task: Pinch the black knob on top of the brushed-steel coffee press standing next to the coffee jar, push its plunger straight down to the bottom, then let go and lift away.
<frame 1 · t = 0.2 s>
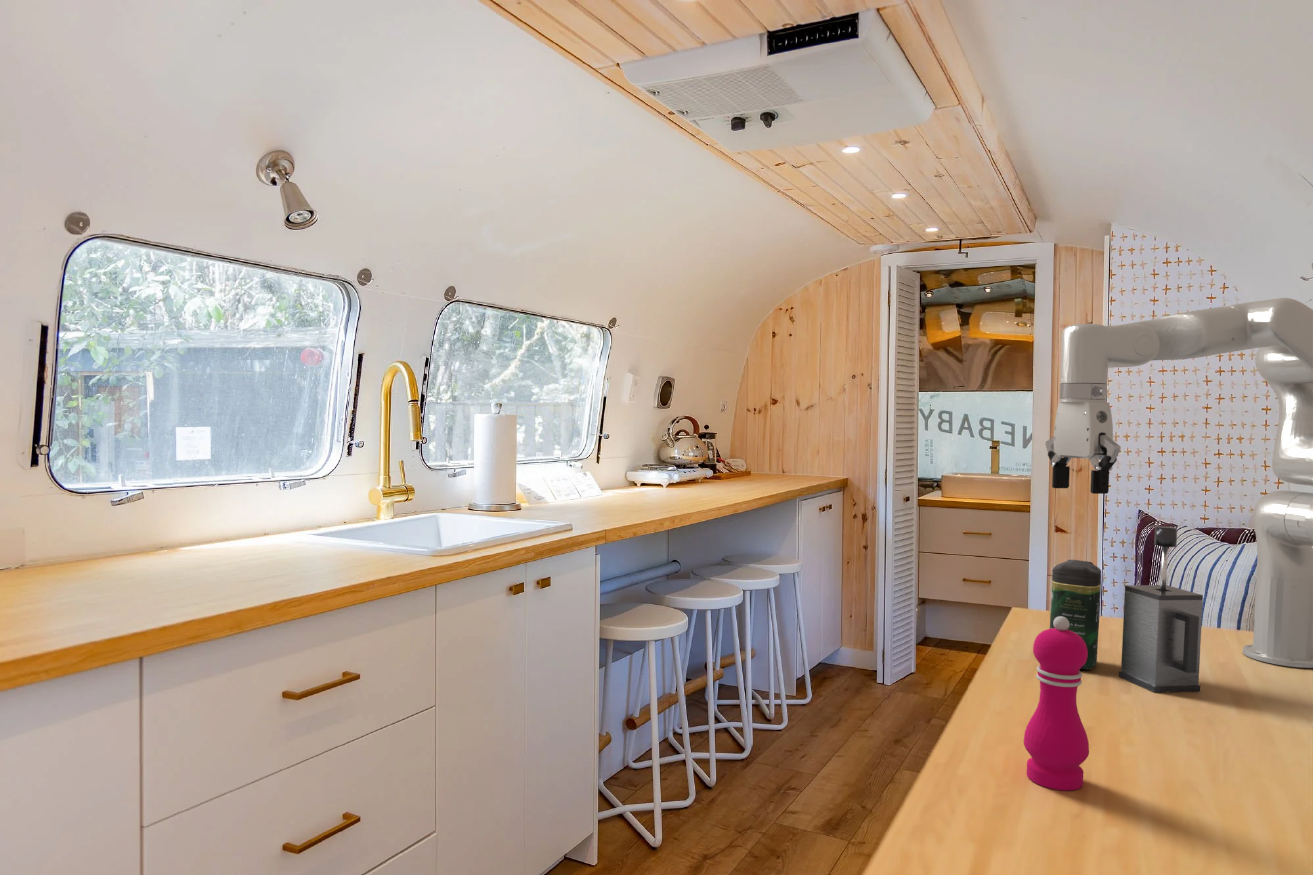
hand: (1079, 490, 156), 31 cm above the table, tool pointing down, fingers open, 9 cm apart
plunger: (1164, 568, 146), point 19 cm above the table, slide at 0.0 cm
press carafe: (1158, 683, 147), on the table
pepper mill: (1054, 781, 107), on the table
coffee jar: (1072, 665, 158), on the table
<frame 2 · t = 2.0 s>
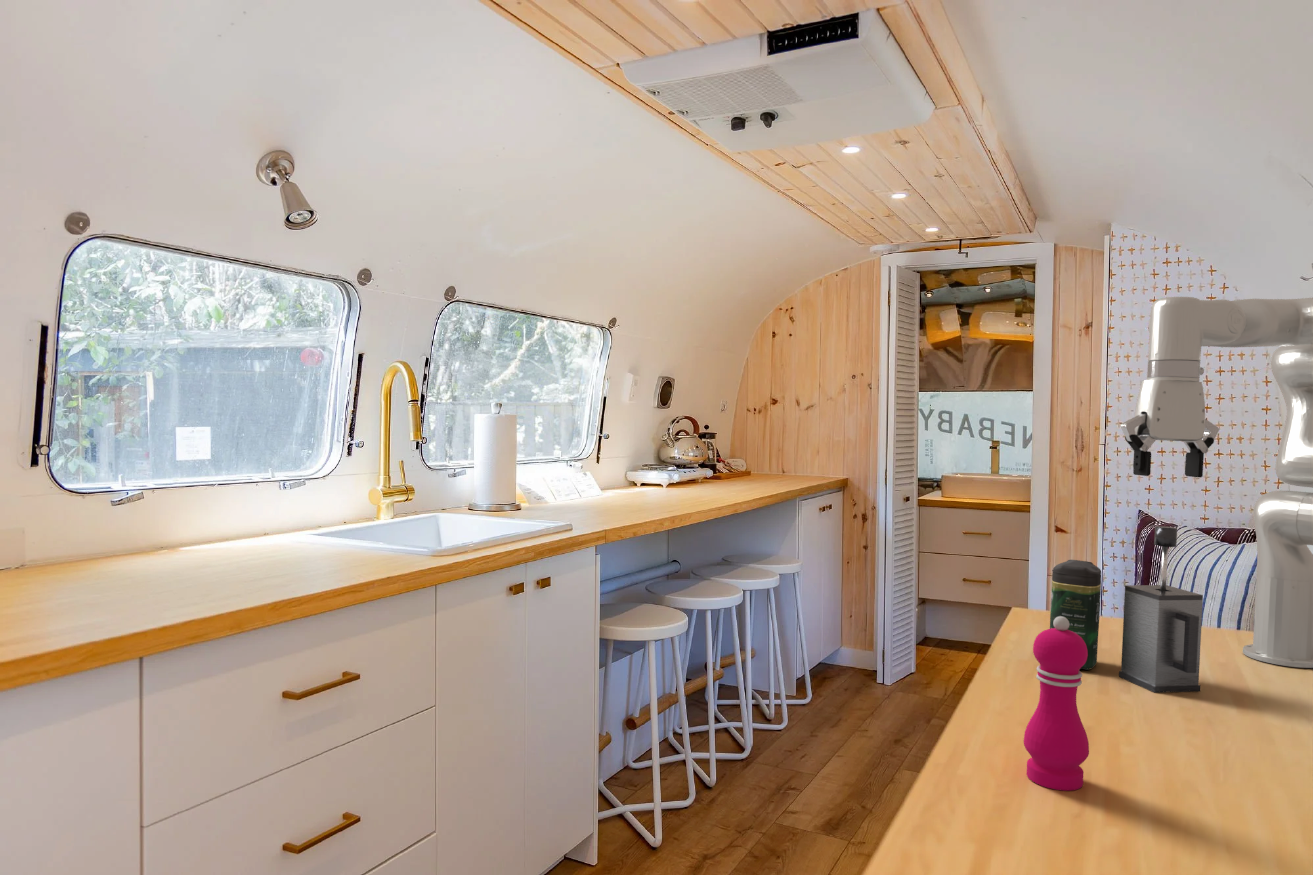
hand: (1167, 475, 146), 35 cm above the table, tool pointing down, fingers open, 9 cm apart
nothing on the table moved.
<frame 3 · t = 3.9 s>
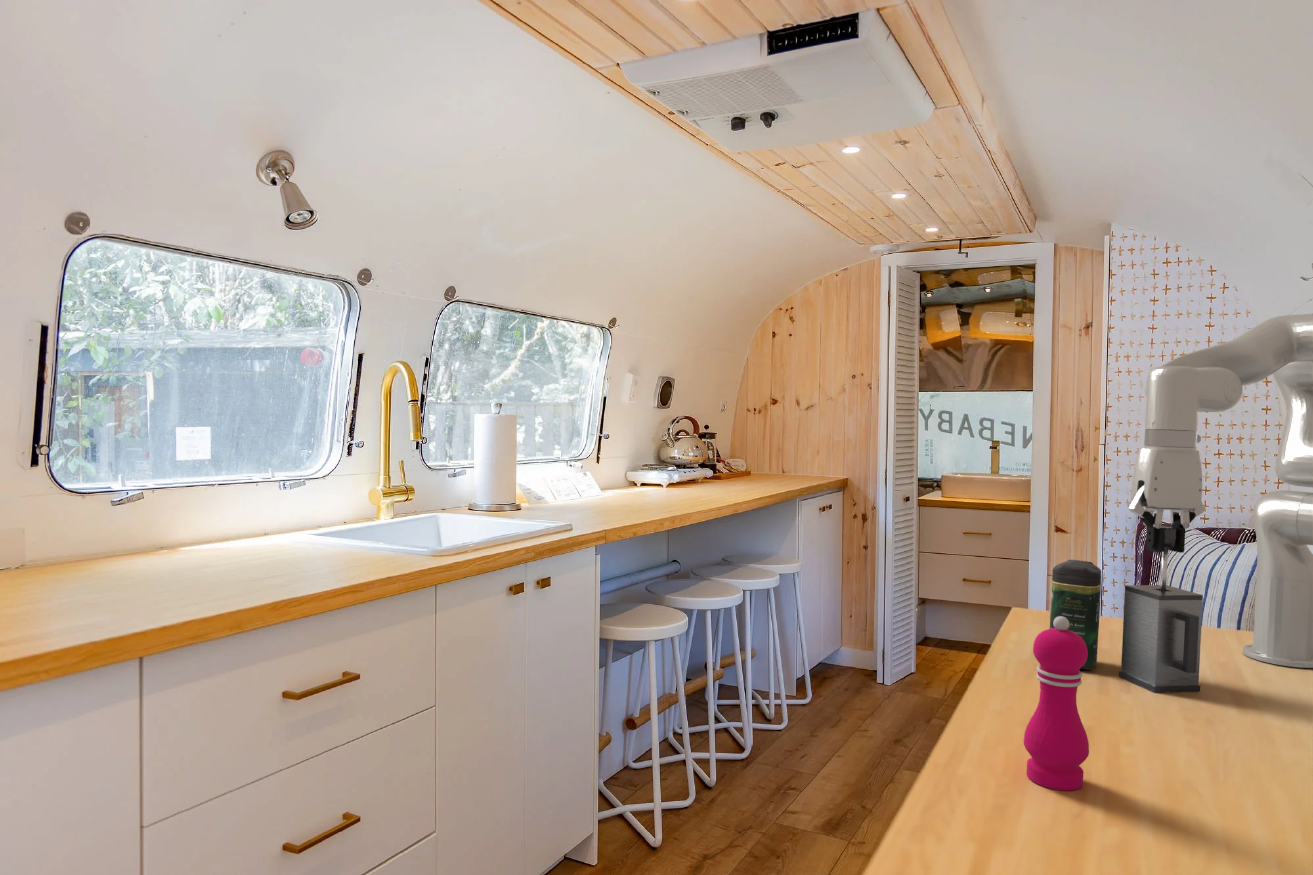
hand: (1165, 550, 146), 23 cm above the table, tool pointing down, fingers closed on plunger, 3 cm apart
plunger: (1164, 568, 146), point 19 cm above the table, slide at 0.0 cm, touching gripper
everything else where it was.
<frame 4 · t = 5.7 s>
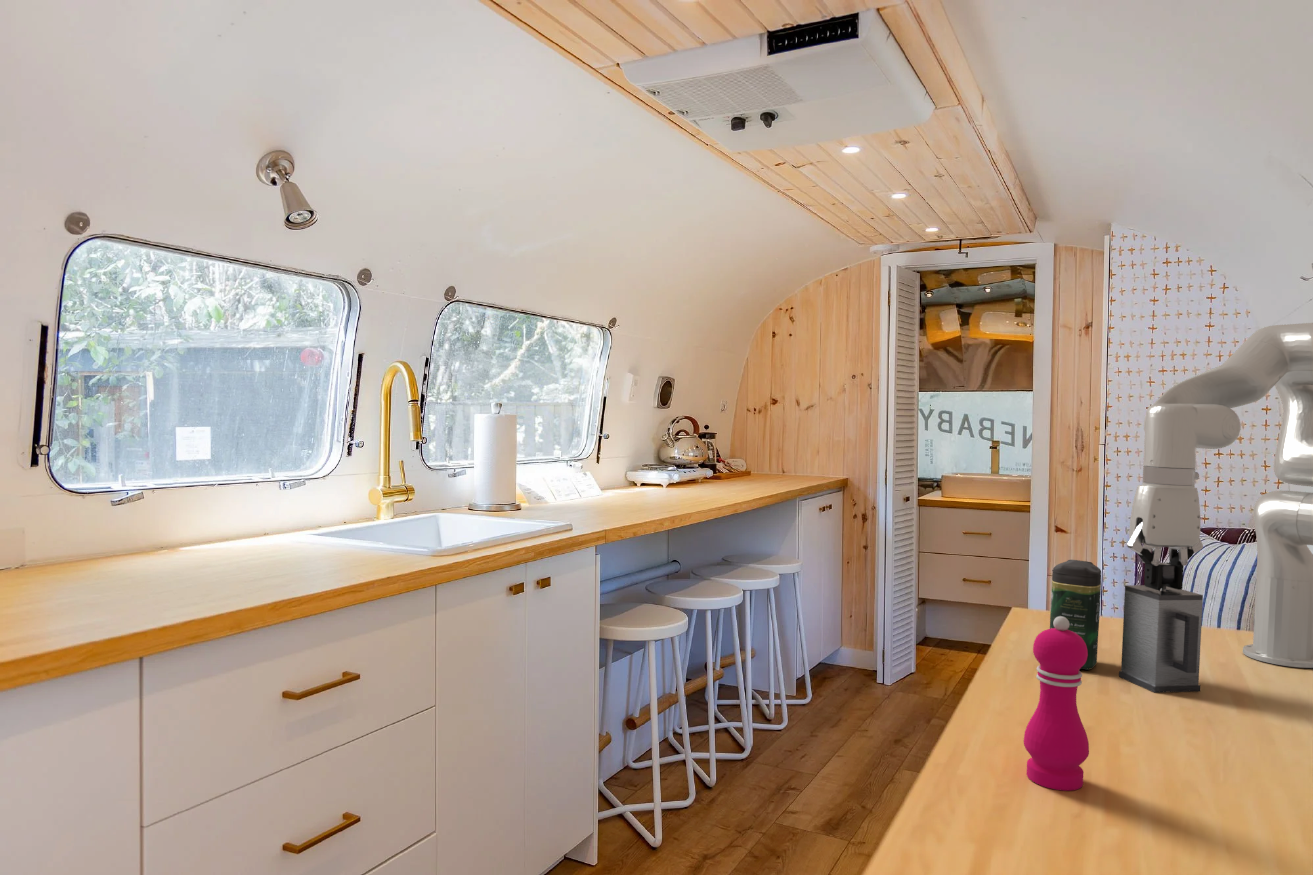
hand: (1163, 586, 146), 16 cm above the table, tool pointing down, fingers closed on plunger, 3 cm apart
plunger: (1162, 604, 147), point 13 cm above the table, slide at 6.2 cm, touching gripper
everything else where it was.
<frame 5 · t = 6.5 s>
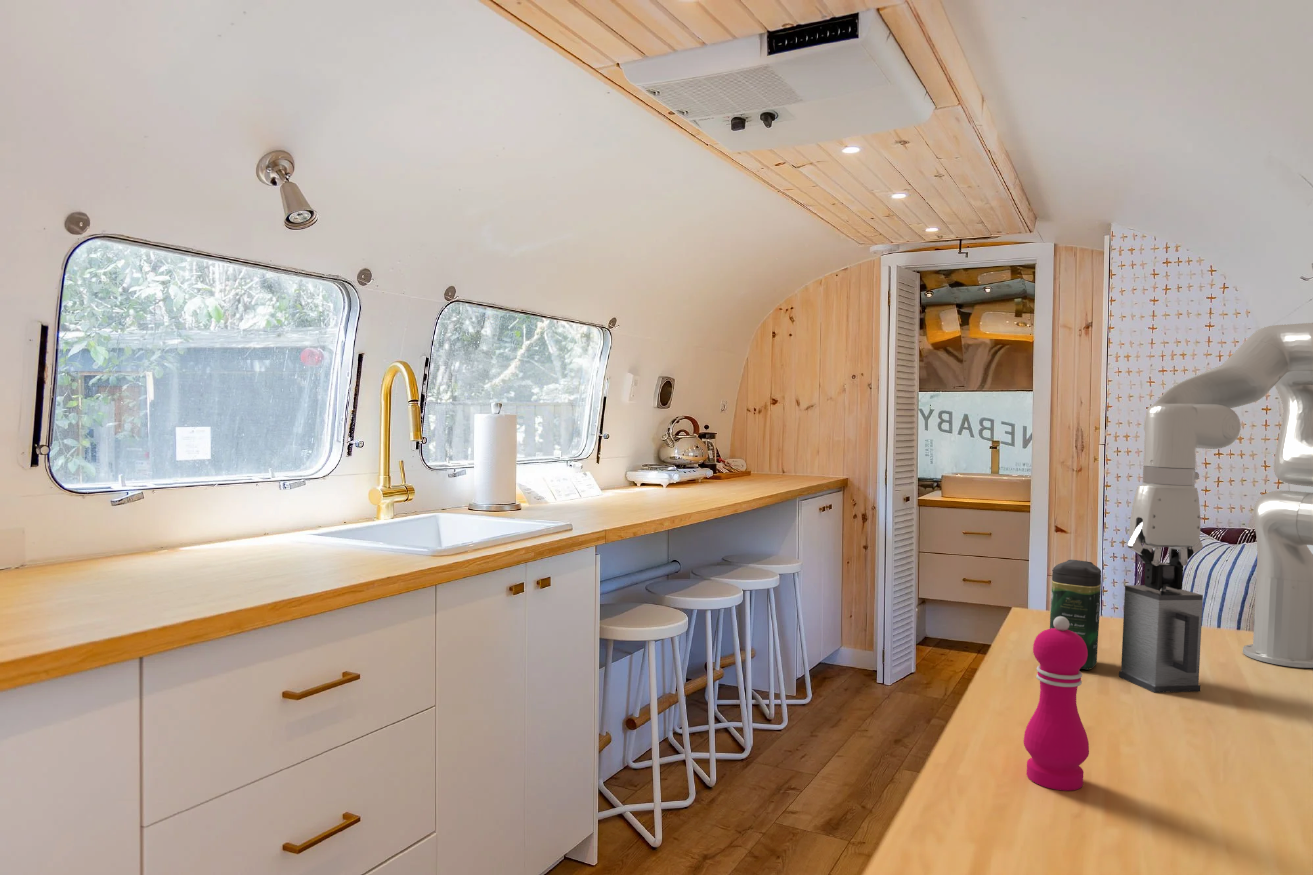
hand: (1163, 586, 146), 16 cm above the table, tool pointing down, fingers closed on plunger, 3 cm apart
plunger: (1162, 604, 147), point 13 cm above the table, slide at 6.2 cm, touching gripper
everything else where it was.
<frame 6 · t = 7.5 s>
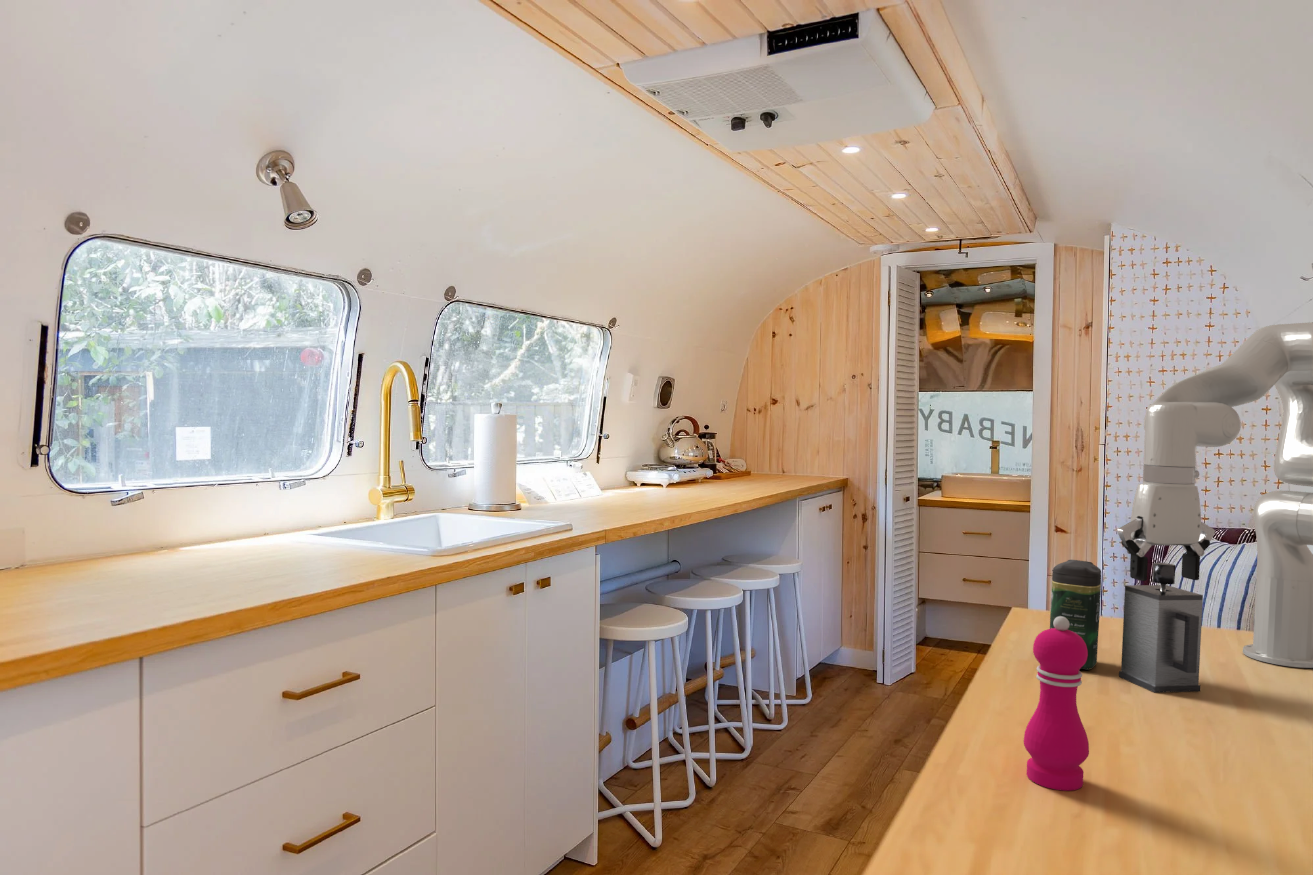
hand: (1164, 579, 146), 18 cm above the table, tool pointing down, fingers open, 9 cm apart
plunger: (1162, 604, 147), point 13 cm above the table, slide at 6.2 cm
everything else where it was.
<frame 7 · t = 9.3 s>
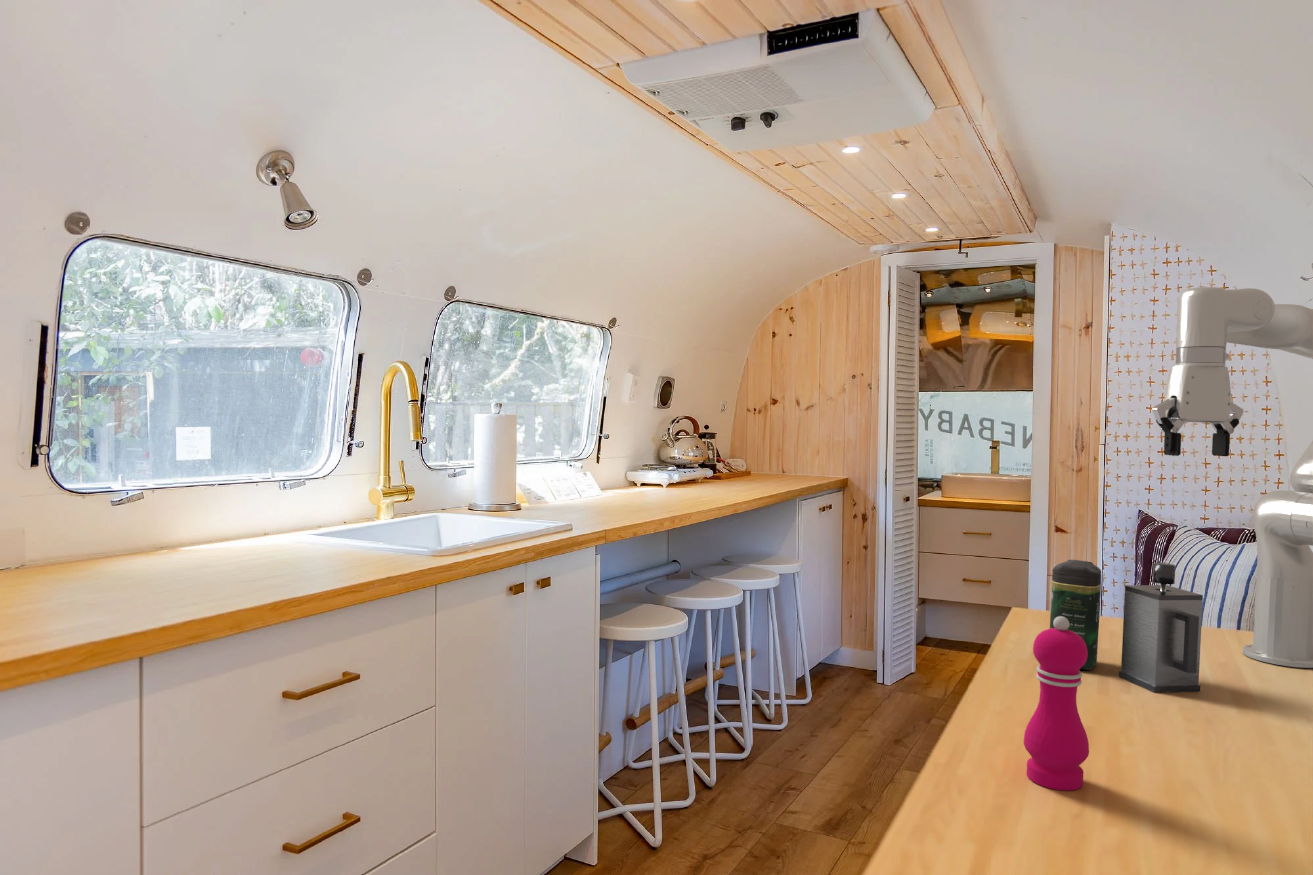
hand: (1196, 455, 155), 38 cm above the table, tool pointing down, fingers open, 9 cm apart
nothing on the table moved.
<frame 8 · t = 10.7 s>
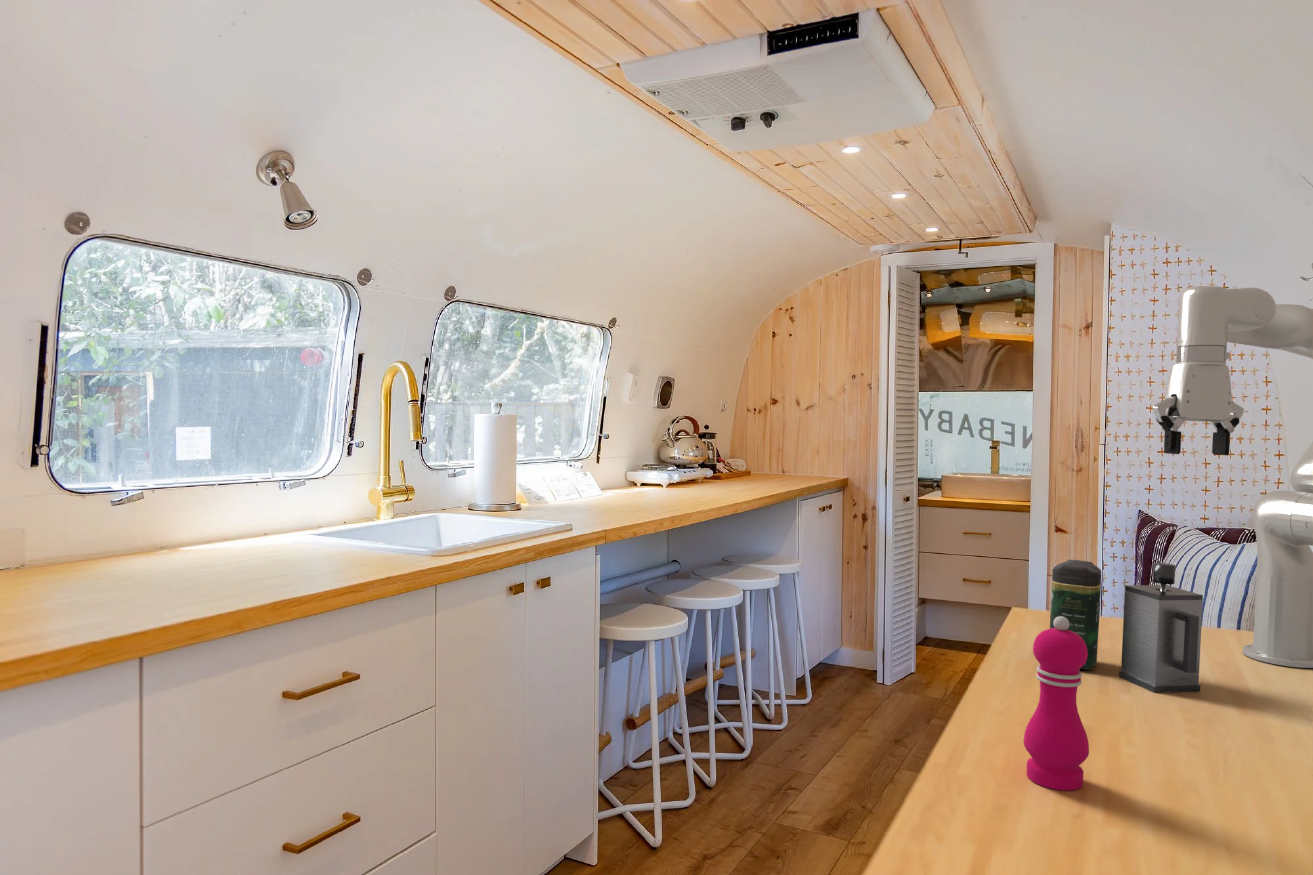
hand: (1196, 454, 156), 38 cm above the table, tool pointing down, fingers open, 9 cm apart
nothing on the table moved.
at the end: plunger slide at 6.2 cm; the gripper is holding nothing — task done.
